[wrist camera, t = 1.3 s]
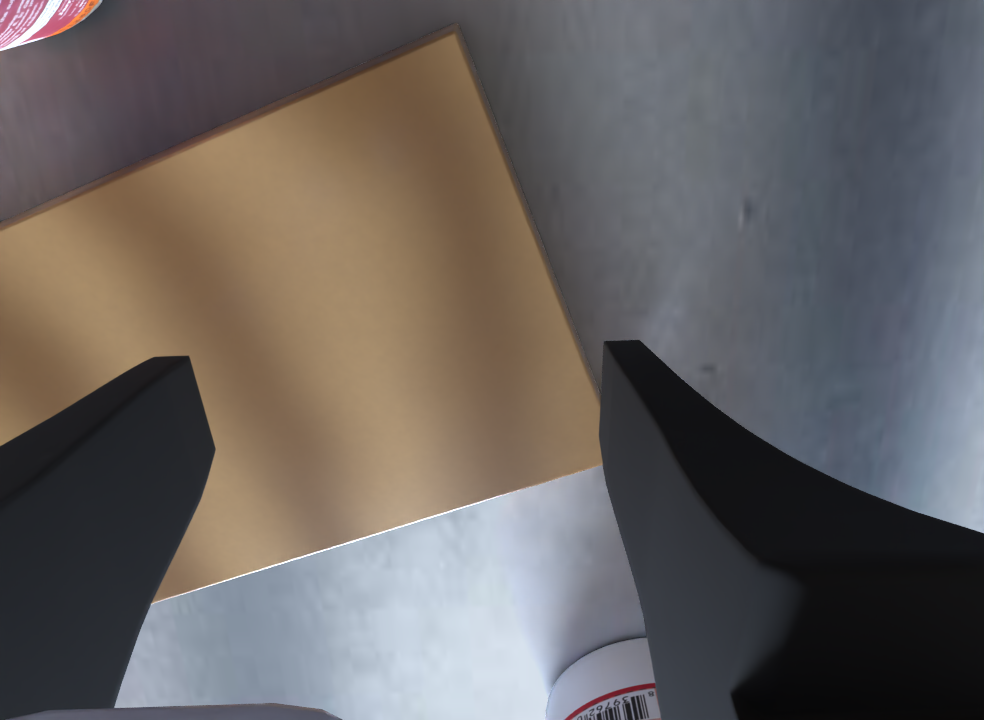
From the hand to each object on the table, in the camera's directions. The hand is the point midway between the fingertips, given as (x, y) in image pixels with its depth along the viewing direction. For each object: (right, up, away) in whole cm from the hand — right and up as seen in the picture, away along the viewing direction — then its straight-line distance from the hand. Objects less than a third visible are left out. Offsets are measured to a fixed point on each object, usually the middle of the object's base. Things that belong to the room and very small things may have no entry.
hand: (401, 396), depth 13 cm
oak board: (-6, +1, +11) cm, 13 cm away
